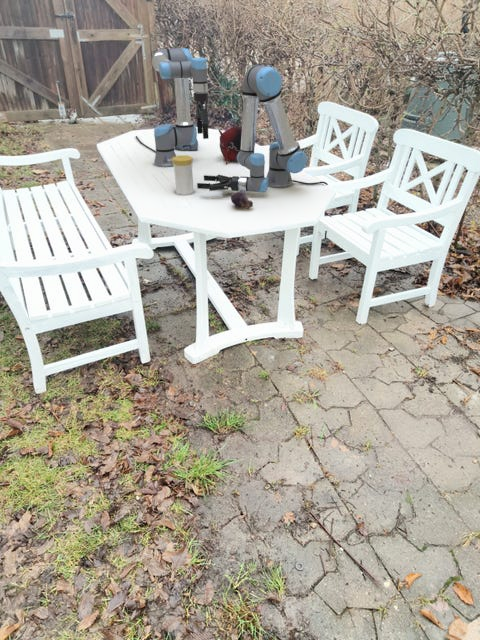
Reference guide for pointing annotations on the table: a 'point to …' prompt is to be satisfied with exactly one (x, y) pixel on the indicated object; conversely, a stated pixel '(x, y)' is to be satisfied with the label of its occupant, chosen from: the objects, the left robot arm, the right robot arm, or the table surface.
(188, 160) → the lid
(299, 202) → the table surface
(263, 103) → the right robot arm
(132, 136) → the table surface
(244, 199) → the rock
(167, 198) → the table surface
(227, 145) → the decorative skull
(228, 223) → the table surface
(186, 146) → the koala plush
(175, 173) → the jar
